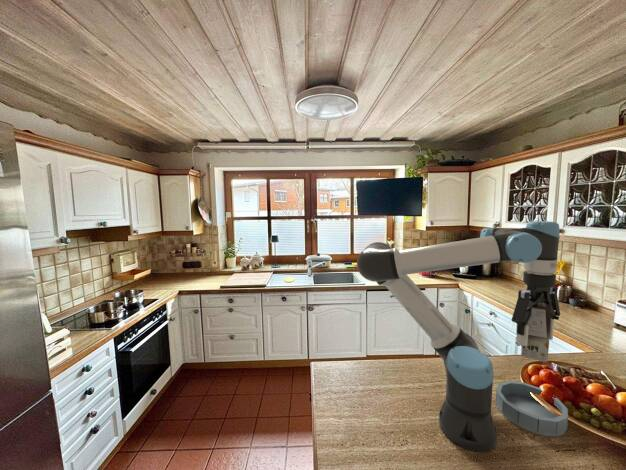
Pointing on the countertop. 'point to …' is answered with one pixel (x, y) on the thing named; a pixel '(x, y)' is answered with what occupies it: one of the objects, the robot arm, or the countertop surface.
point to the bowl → (530, 409)
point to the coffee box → (538, 333)
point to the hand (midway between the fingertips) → (534, 341)
